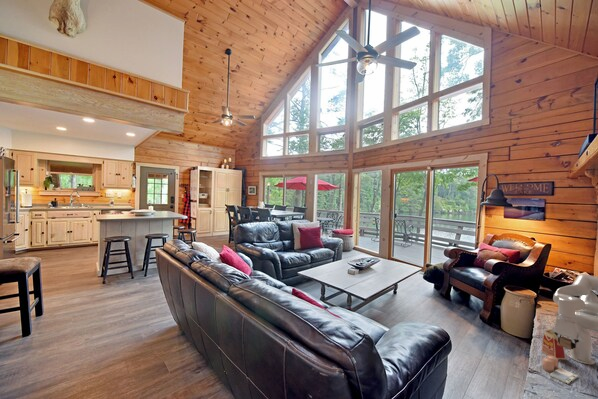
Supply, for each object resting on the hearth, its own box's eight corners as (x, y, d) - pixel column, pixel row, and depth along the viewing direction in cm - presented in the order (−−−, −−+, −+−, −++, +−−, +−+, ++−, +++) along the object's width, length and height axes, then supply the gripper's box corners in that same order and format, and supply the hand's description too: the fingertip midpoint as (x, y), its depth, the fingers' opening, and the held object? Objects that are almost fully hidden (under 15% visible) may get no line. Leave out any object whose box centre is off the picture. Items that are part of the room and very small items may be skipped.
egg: (544, 366, 162) (544, 357, 162) (555, 371, 158) (555, 361, 158) (541, 368, 160) (541, 359, 160) (551, 373, 156) (551, 363, 156)
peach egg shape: (549, 363, 165) (549, 354, 165) (559, 368, 161) (559, 358, 161) (545, 365, 163) (545, 356, 163) (556, 370, 159) (556, 360, 159)
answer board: (559, 369, 160) (559, 367, 160) (577, 377, 153) (577, 375, 153) (549, 375, 154) (549, 373, 154) (568, 384, 146) (568, 382, 146)
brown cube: (562, 343, 164) (562, 336, 164) (573, 347, 160) (573, 339, 160) (559, 345, 162) (559, 337, 162) (570, 349, 158) (570, 341, 158)
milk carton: (552, 351, 179) (552, 323, 179) (566, 359, 170) (566, 330, 170) (539, 351, 179) (540, 323, 179) (553, 359, 170) (553, 330, 170)
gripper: (546, 313, 167) (546, 340, 167) (583, 325, 152) (583, 355, 152) (551, 311, 170) (551, 338, 170) (588, 322, 155) (588, 351, 155)
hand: (566, 345), depth 161 cm, fingers closed on brown cube, 5 cm apart
